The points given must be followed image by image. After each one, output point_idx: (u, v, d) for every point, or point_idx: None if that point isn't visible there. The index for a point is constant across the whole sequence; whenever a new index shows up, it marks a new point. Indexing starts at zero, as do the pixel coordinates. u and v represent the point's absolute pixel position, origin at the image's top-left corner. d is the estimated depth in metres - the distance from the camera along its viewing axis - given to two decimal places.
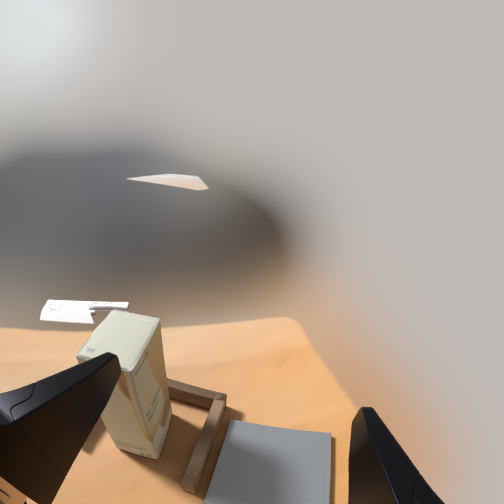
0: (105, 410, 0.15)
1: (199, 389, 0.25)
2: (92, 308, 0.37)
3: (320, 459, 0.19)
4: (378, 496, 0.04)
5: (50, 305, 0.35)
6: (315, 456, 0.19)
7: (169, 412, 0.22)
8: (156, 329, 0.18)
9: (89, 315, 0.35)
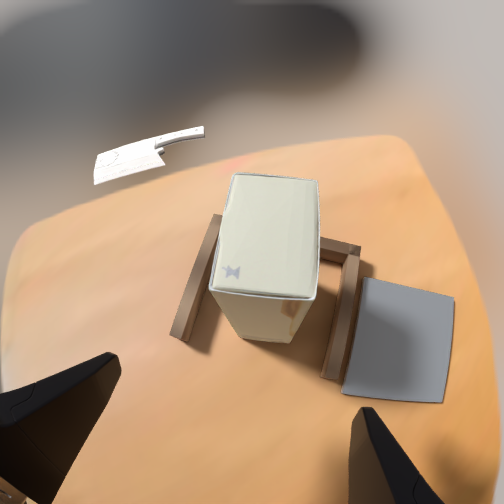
0: (243, 322, 0.15)
1: (329, 241, 0.22)
2: (158, 145, 0.31)
3: (444, 329, 0.20)
4: (378, 496, 0.04)
5: (102, 161, 0.31)
6: (441, 325, 0.20)
7: None
8: (318, 202, 0.12)
9: (157, 156, 0.30)
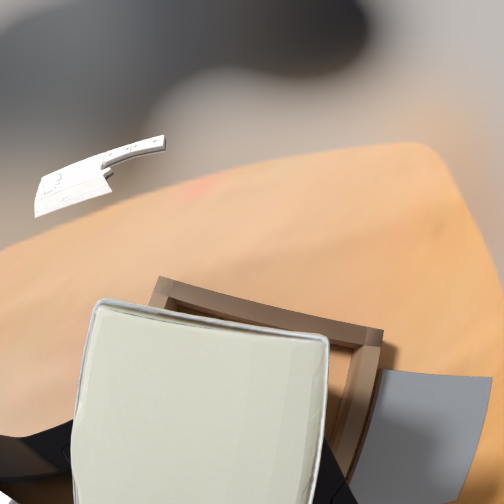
0: None
1: (336, 325, 0.14)
2: (106, 164, 0.22)
3: (475, 421, 0.11)
4: None
5: (44, 186, 0.22)
6: (472, 418, 0.11)
7: None
8: (324, 406, 0.04)
9: (102, 180, 0.21)
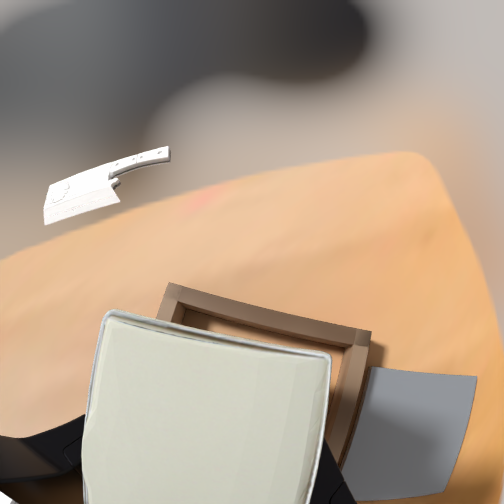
0: None
1: (328, 327, 0.15)
2: (113, 174, 0.24)
3: (460, 417, 0.13)
4: None
5: (53, 195, 0.23)
6: (457, 414, 0.13)
7: None
8: (323, 417, 0.04)
9: (110, 190, 0.23)
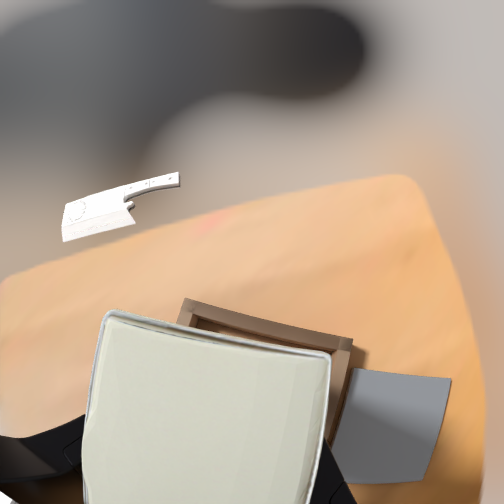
0: None
1: (317, 335, 0.19)
2: (128, 197, 0.27)
3: (435, 414, 0.16)
4: None
5: (70, 214, 0.27)
6: (432, 410, 0.16)
7: None
8: (323, 417, 0.04)
9: (126, 213, 0.26)
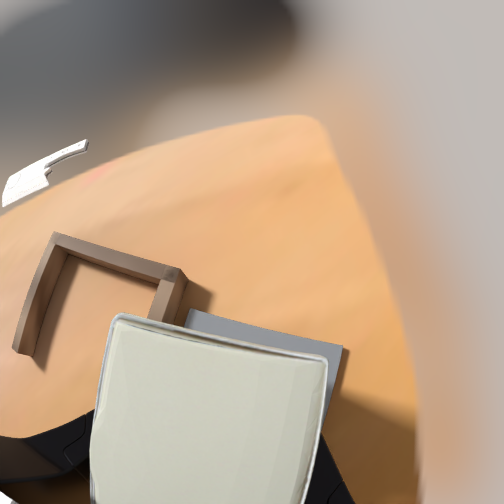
0: None
1: (142, 262, 0.17)
2: (48, 165, 0.26)
3: None
4: None
5: (9, 184, 0.25)
6: None
7: None
8: (320, 417, 0.04)
9: (43, 177, 0.25)
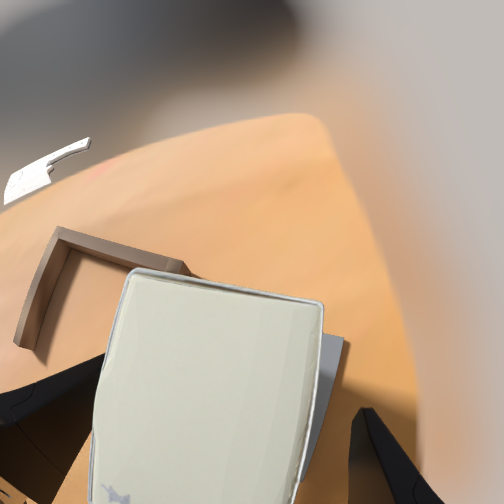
0: None
1: (146, 254, 0.18)
2: (50, 162, 0.26)
3: None
4: (378, 496, 0.04)
5: (11, 181, 0.25)
6: None
7: None
8: (318, 361, 0.05)
9: (46, 174, 0.25)
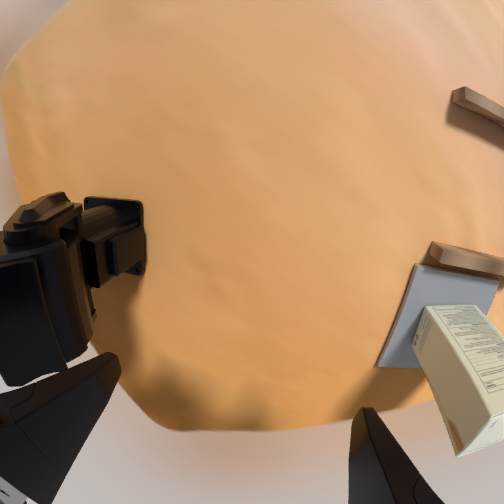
0: (452, 368, 0.13)
1: None
2: None
3: None
4: (378, 496, 0.04)
5: None
6: None
7: None
8: (502, 437, 0.08)
9: None
